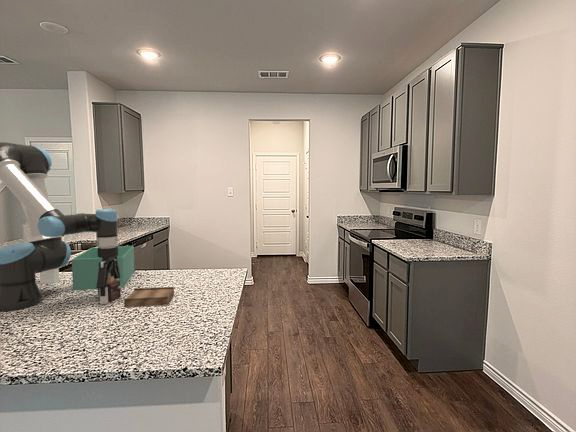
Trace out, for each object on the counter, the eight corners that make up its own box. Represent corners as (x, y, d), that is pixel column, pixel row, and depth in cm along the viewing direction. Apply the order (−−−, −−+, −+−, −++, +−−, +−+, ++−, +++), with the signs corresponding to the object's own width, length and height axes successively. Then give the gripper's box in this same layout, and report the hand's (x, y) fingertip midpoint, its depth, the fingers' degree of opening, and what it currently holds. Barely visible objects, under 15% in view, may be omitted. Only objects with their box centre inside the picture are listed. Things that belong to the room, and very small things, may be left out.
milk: (54, 283, 158) (52, 238, 156) (39, 284, 156) (37, 238, 155) (59, 279, 164) (57, 236, 162) (45, 280, 162) (43, 236, 160)
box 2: (110, 302, 132) (110, 284, 131) (97, 301, 133) (97, 283, 132) (121, 297, 138) (120, 280, 137) (108, 296, 139) (108, 279, 138)
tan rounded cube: (103, 283, 133) (102, 278, 133) (106, 281, 136) (106, 276, 136) (110, 282, 133) (110, 278, 133) (113, 280, 136) (113, 276, 136)
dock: (124, 307, 126) (124, 299, 126) (134, 295, 140) (134, 288, 139) (167, 304, 129) (167, 297, 128) (173, 293, 142) (173, 286, 142)
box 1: (134, 271, 183) (133, 245, 182) (124, 287, 152) (122, 256, 151) (92, 274, 177) (91, 247, 176) (73, 291, 146) (71, 259, 145)
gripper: (106, 252, 122) (108, 308, 124) (126, 242, 146) (128, 289, 148) (84, 252, 121) (87, 309, 123) (108, 242, 145) (110, 290, 146)
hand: (109, 298), depth 135 cm, fingers open, 12 cm apart
